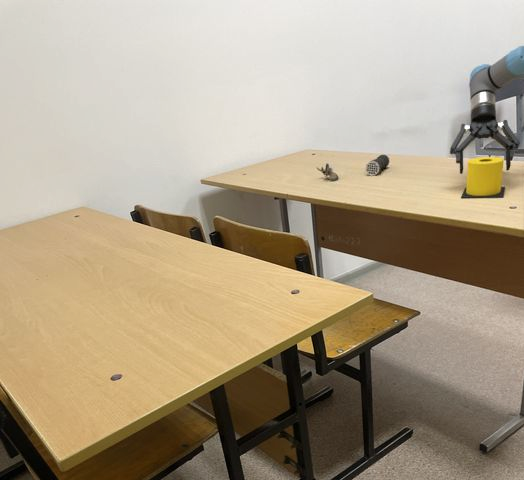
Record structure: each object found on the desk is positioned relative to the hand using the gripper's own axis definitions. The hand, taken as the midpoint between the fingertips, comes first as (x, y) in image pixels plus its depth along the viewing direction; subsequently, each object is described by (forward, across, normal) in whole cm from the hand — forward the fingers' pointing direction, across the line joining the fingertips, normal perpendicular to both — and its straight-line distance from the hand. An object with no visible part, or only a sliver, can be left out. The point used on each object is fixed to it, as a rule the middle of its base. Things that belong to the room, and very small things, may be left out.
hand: (484, 169), depth 165 cm
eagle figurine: (-19, +53, -29) cm, 64 cm away
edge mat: (+6, 0, -3) cm, 7 cm away
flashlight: (-25, +34, -34) cm, 55 cm away
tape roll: (+6, 0, -3) cm, 7 cm away
